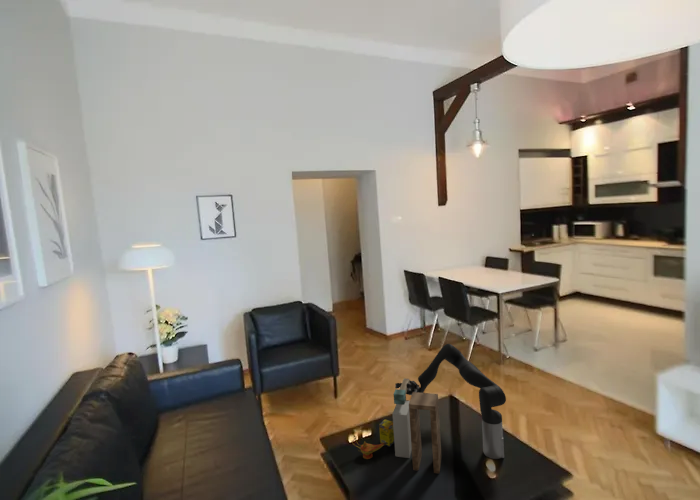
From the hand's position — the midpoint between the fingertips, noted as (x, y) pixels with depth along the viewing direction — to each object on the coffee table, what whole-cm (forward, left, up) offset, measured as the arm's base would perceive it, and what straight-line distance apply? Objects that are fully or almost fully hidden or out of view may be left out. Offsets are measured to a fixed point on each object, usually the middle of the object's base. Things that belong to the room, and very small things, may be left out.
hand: (404, 385), depth 196 cm
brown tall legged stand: (-13, +17, -30) cm, 37 cm away
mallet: (0, +3, -3) cm, 4 cm away
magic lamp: (+15, +17, -30) cm, 38 cm away
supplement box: (+9, +5, -30) cm, 32 cm away
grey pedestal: (0, +8, -30) cm, 31 cm away
